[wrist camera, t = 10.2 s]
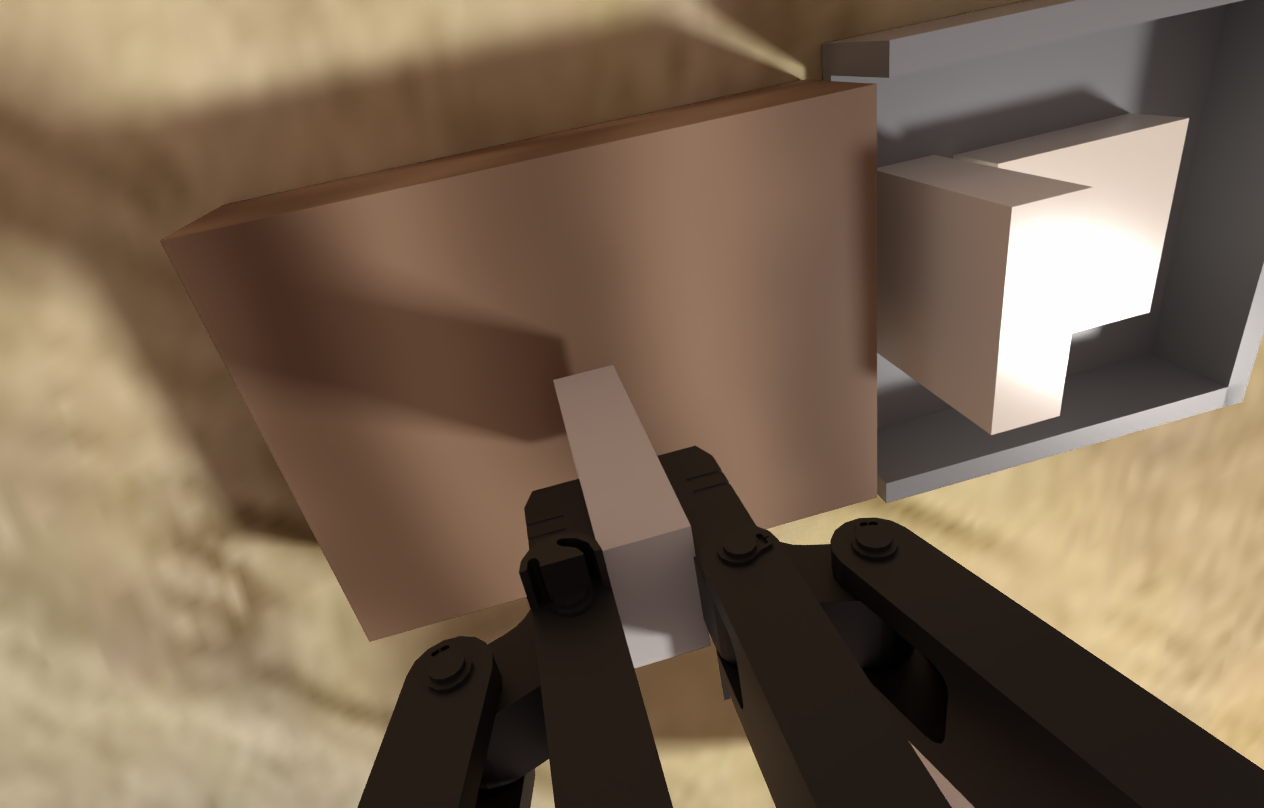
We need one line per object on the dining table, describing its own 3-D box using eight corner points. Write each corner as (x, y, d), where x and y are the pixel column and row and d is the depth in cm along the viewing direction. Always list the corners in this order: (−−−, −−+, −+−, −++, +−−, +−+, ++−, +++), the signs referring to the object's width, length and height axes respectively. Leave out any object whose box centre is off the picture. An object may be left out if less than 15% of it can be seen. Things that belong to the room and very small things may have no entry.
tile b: (1149, 312, 22) (1099, 293, 24) (1189, 118, 19) (1130, 113, 21) (982, 357, 22) (944, 334, 23) (998, 163, 19) (953, 155, 20)
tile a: (990, 435, 18) (1059, 415, 18) (1012, 207, 15) (1092, 187, 15) (873, 350, 23) (927, 335, 23) (871, 169, 20) (933, 154, 20)
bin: (836, 449, 25) (885, 503, 22) (821, 43, 19) (889, 40, 16) (1154, 362, 26) (1242, 401, 23) (1243, -46, 20) (1382, -65, 17)
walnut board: (385, 554, 23) (369, 641, 20) (223, 205, 17) (160, 240, 14) (820, 435, 25) (877, 497, 21) (802, 79, 19) (876, 83, 16)
